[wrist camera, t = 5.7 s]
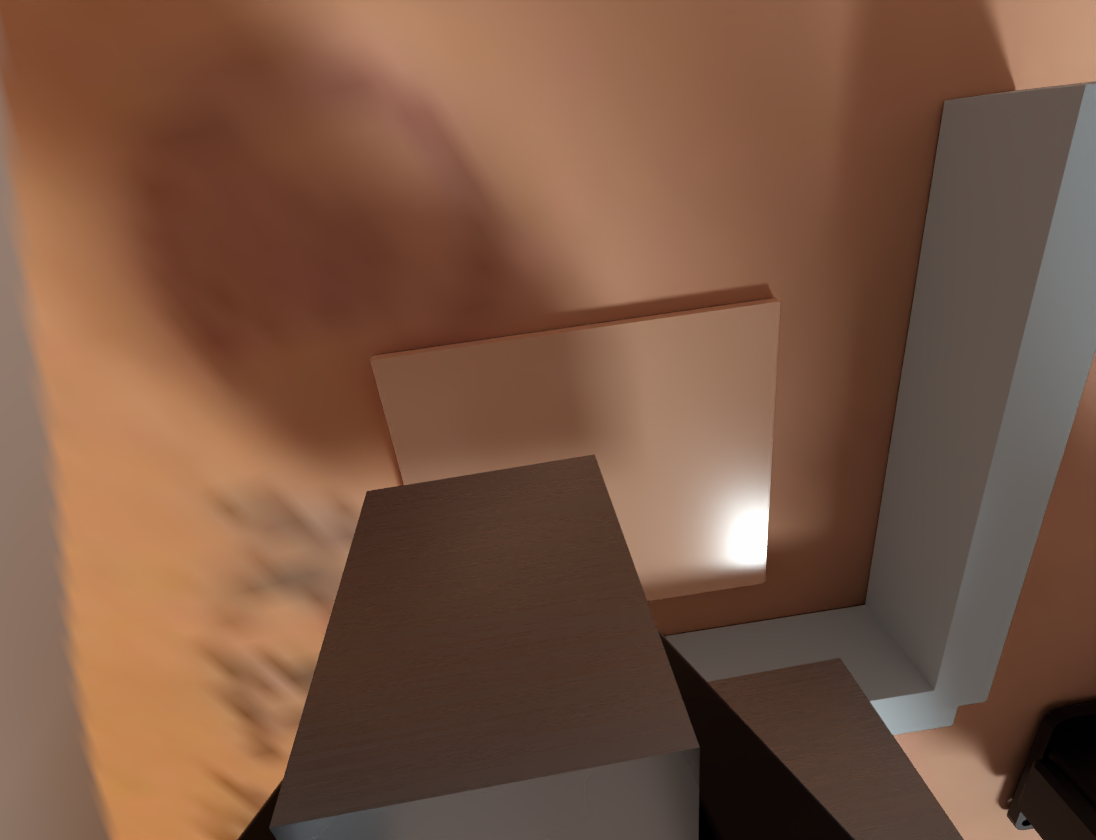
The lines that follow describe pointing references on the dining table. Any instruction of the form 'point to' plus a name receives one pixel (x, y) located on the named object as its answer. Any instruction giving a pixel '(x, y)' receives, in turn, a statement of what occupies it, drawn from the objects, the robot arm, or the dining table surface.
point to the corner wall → (965, 416)
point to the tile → (615, 427)
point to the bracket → (544, 686)
